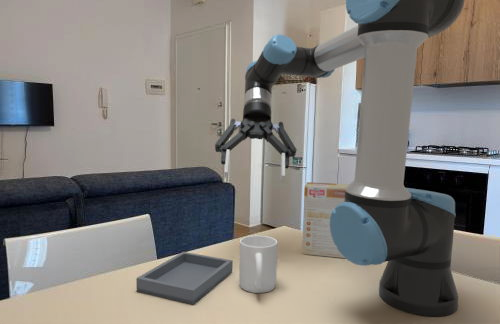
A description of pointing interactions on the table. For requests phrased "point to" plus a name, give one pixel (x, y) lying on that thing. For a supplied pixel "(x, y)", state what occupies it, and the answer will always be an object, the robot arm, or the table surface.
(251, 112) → the robot arm
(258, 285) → the mug
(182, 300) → the tray
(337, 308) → the table surface
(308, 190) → the coffeecake box
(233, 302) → the table surface
